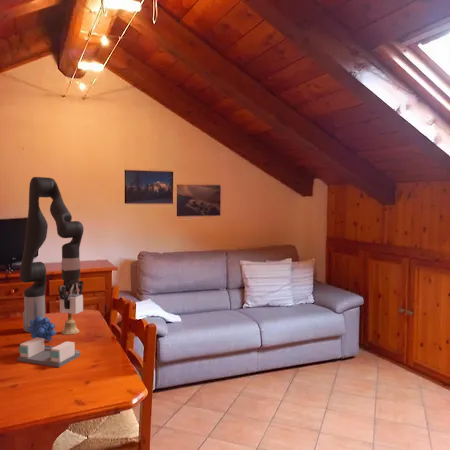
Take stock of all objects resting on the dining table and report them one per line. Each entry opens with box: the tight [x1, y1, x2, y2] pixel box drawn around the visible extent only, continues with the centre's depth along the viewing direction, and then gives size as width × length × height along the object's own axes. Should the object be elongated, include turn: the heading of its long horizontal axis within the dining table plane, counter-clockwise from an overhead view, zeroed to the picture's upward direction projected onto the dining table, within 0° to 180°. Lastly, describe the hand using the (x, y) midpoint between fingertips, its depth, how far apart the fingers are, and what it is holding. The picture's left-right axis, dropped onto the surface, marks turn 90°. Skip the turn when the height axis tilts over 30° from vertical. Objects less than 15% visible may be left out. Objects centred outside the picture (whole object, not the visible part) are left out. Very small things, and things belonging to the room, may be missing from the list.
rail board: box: [17, 337, 81, 368], centre depth 178 cm, size 20×13×6 cm, turn 72°
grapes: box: [28, 316, 57, 342], centre depth 196 cm, size 12×7×12 cm, turn 106°
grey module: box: [59, 294, 84, 315], centre depth 189 cm, size 8×5×7 cm, turn 72°
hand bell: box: [60, 313, 80, 336], centre depth 211 cm, size 8×8×16 cm
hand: (71, 306), depth 189 cm, fingers closed on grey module, 5 cm apart
